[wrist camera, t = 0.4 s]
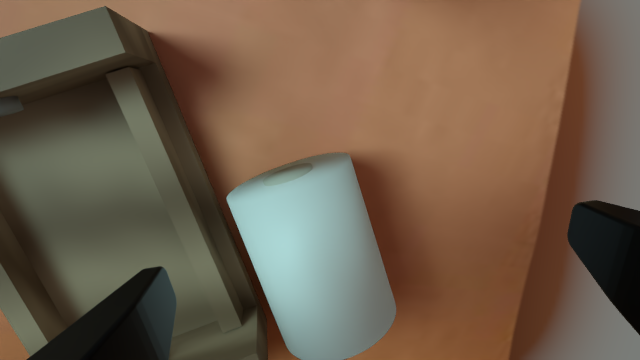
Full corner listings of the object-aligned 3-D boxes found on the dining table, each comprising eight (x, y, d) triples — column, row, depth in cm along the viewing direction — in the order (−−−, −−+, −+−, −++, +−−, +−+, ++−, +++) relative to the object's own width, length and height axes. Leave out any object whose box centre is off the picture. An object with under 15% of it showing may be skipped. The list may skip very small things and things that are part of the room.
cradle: (266, 319, 22) (268, 381, 17) (81, 390, 21) (27, 476, 16) (147, 31, 18) (105, 6, 13) (-89, 104, 17) (-228, 107, 12)
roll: (376, 273, 23) (416, 333, 17) (281, 309, 22) (289, 384, 16) (335, 144, 21) (365, 161, 15) (230, 180, 20) (218, 213, 14)
